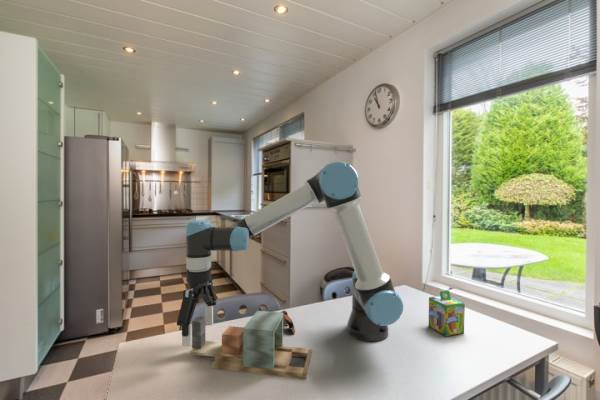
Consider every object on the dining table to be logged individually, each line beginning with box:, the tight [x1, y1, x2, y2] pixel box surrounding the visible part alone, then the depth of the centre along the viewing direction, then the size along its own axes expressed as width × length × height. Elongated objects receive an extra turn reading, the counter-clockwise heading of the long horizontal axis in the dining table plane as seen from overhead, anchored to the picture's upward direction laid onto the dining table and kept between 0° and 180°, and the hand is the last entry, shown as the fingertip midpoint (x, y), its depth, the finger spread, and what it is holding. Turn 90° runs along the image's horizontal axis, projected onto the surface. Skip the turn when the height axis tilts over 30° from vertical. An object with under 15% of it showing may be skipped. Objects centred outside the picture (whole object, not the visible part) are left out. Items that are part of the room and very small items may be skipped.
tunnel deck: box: [212, 310, 313, 380], centre depth 87 cm, size 28×13×13 cm, turn 81°
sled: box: [189, 316, 245, 358], centre depth 89 cm, size 20×7×9 cm, turn 81°
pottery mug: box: [279, 310, 296, 336], centre depth 106 cm, size 12×10×8 cm
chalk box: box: [427, 290, 466, 337], centre depth 108 cm, size 9×9×15 cm
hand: (198, 334), depth 91 cm, fingers open, 13 cm apart
